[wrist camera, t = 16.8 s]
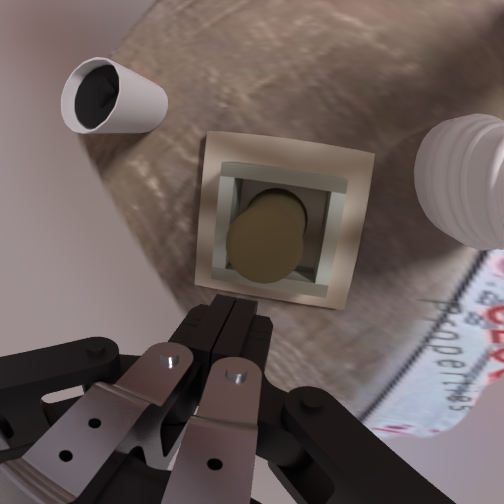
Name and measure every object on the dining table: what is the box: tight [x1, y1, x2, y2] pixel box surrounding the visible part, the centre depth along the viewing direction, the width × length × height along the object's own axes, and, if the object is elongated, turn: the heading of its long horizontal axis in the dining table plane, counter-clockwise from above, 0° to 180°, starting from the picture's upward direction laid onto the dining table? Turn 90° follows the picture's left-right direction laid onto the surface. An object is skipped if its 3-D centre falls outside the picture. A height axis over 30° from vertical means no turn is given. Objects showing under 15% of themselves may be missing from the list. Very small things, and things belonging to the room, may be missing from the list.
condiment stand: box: [195, 131, 375, 310], centre depth 29 cm, size 16×16×5 cm
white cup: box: [61, 57, 168, 134], centre depth 25 cm, size 7×7×10 cm
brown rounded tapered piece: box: [226, 188, 308, 284], centre depth 25 cm, size 6×6×11 cm
